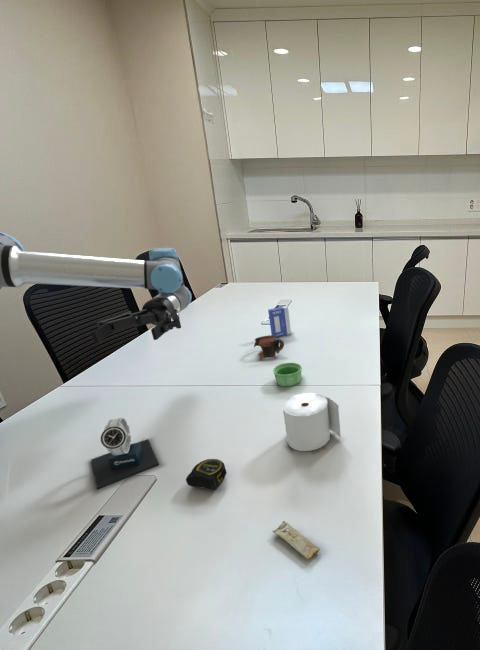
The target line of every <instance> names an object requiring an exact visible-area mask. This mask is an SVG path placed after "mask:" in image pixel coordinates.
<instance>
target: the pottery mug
mask: <svg viewBox="0 0 480 650" xmlns="http://www.w3.org/2000/svg"><path fill="white" fill-rule="evenodd" d="M256 347H260V349H261V350H262V351H261V352H258V357H259V360H262V359H267V358H268V359H269V358H276V354H279V353H280V352H281V351H282V350H283V349H284V347H285V341H284V340H283V339H281V338H275V336H273V335H272V334H271V335H263V336H258V337H256V338H254V345H253V348H256Z"/></svg>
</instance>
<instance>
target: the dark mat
mask: <svg viewBox="0 0 480 650" xmlns="http://www.w3.org/2000/svg"><path fill="white" fill-rule="evenodd" d="M137 443H140V445H141V448H142V451H143V455H142V458H141V461H140V464H139V465H135V466H130V467H126V468H121V469H116V470H112V469H111V466H110V464H109V461H108V458H109V455H110V453H111V452H108V453H105V454H102V455H99V456H97V457H94V458H92V459H90V461H91V465H92V470H93V475H94V479H95V485H96V489H97V490H99V489H102V488H104V487H107V486H109V485H113V484H115V483H117V482H119V481H122V480H125V479H127V478H129V477H132V476H134V475H137V474H139V473H142V472H144V471H147V470H149V469H151V468H155V467H156V466H159V465H160V462H159V460H158V458H157V456H156V454H155V452H154V449H153V447H152V445H151V442H150V440H149V439H148V438H146V439H144V440H141V441H139V442H137Z"/></svg>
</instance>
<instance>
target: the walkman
mask: <svg viewBox="0 0 480 650" xmlns="http://www.w3.org/2000/svg"><path fill="white" fill-rule="evenodd" d="M289 311H290V310H289V307H288V306H287V305H284V306H279V307H274V308H269V309H268V311H267V312H268V320H269V326H270V333H271V335H273V336H275V339H277V338H281V337H285V336H289V335H291V334H292V330H291V322H290V321H291V320H290V312H289Z"/></svg>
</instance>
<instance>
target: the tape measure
mask: <svg viewBox="0 0 480 650" xmlns="http://www.w3.org/2000/svg"><path fill="white" fill-rule="evenodd" d="M227 474H228V471H227V469H226V465H225V463H224V462H223V461H222V460H220V459H218V458H207V459H203V460H202V461H200V462H198V463H196V465H194V467H193V468H192V469H191V472H189V474H187V476H186V478H185V482H186V485H188V486H190V487H192V488H193V487H194V488H201V489H205V490H206V489H207V490H209V491H216V490H217V489H218V488H219V485H220V484H221V483H222V482H224V480H225V479H226V475H227Z"/></svg>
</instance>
